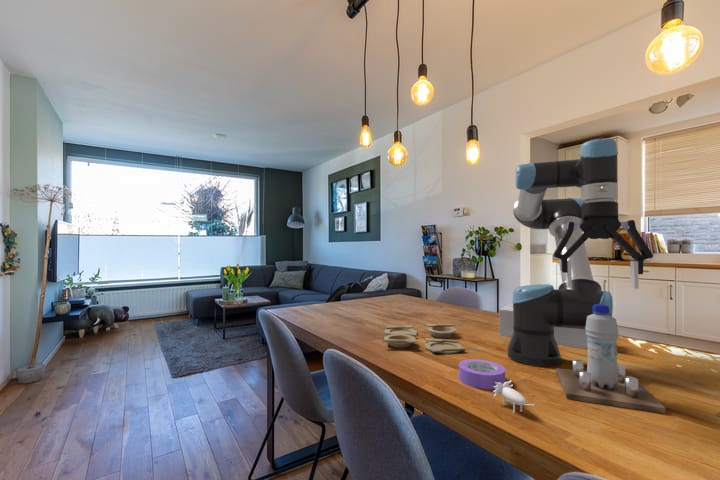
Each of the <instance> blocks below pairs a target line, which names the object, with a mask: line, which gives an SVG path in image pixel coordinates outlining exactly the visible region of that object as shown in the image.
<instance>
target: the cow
mask: <svg viewBox="0 0 720 480" xmlns="http://www.w3.org/2000/svg"><path fill="white" fill-rule="evenodd" d="M512 381H513V380H511V379H510V380H509V381H505V383H504V384H502V383H500V382H498V383H496V382H495V383H496V384H497V385H496V386H493V387H494V388H497V389H494V390H493V391H492V392H493V393H494V394H493V397H497V396H498V395H499V394H501V395H502V406H503V407H505V406H506V400H508V401H509V405H510V406H512V407H513V409H512V413H513V414H515V413H516V405H518V406H519V407H520V408H519V412H521V413H522V412H523V406H532V407H536V406H537V405H536V404H535V403H533V404H531V403H529V404H528V403H527V399H526V398H525V396H524V395H522V394H521V393H520V392H519V391H517V390H515V389H513V388H512V387H513V384H512ZM505 399H506V400H505Z"/></svg>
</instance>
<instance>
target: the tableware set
mask: <svg viewBox="0 0 720 480" xmlns="http://www.w3.org/2000/svg"><path fill="white" fill-rule="evenodd" d="M384 327H385V329H384V334H385V336H384V338H383V339H382V342H384V343H388V344H390V346H391V347H393V348H397V349H404V348H409V347H411V344H413V343H417V342H418V340H417V339H416V338H417V336H418V331H417V330H416V329H413V328H414V325H410V324H409V325H403V326H402V325H401V326H396V325H395V326H384ZM426 327H427V331H428V332H430V333H432V335H433V337H436V338H427V337H426V338H425V339H424V340H425V342H426V343H425V344H424V348H425V349H426V350H428V351H430V352H432V353H438V354H455V353H456V354H457V353H460V352H462V351H466V347H465V346H463V345H461V344H460V343H459V340H458V339H449V338H451V337H452V335H453V334H455V333H457V331H458V329H457V328H455V327H456V323H445V324H444V323H441V324H435V323H428V324H426Z"/></svg>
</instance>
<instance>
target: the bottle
mask: <svg viewBox="0 0 720 480" xmlns="http://www.w3.org/2000/svg"><path fill="white" fill-rule="evenodd" d="M593 313H594V314H591V315H589V316H587V321H586V327H585V329H586V335H587V345H588V349H587V365H586V367H587V368H586V371H587V372H590V373H591V384H592V385H594V386H596V384H597V383H598V384H599V387H600V388H603V387H604V385H605V384H607V388H608V389H612V388H615V387H616V386H617V385H618V368H617V364H618V350H617V348H618V347H617V346H618V343H617V340H618V339H619V327H618V322H617V319H616V317H615V318H614V317H613V315H612V316H610V315H608V314H609V307H608V306H606V305H603V304H595V305H594V306H593Z"/></svg>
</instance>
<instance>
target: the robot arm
mask: <svg viewBox="0 0 720 480" xmlns="http://www.w3.org/2000/svg"><path fill="white" fill-rule="evenodd" d="M617 147H618V146H617V141H616V140H615V139H613V138H610V137H609V138H607V137H606V138H604V137H603V138H597V139H596V138H595V139H591V140H589V141H586V142H584V143H582V144H581V146H580V151H579V152H580V153H579V159H577V158H576V159H567V160H566V159H565V160H557V161H556V160H555V161H545V162H544V161H543V162H541V161H540V162H527V163H524V164H523V163H522V164H518V165H517V166H516V168H515V188H516V189H517V190H519V193H518V200H517V201H516V202H515V203H514V206H513V212H512V213H513V215H514V218H515V219H516V220H517V222H518V223H519V224H521V225H523V226H525V227H526V228H530V229H534V230H548V231H549V234H550V235H551V236H553V237H554V241H555V246H556V249H555V250H554V252H553V255H552V256H553V257H554V258H556V259H558V265H559V270H560V276H561V277H560V278H561V282H562V283H561V284H559V286H558V288H557V289H555V287H554V286H553V285H552V284H547V283H546V284H540V283H539V284H529V285H528V284H527V285H522V286H518V287H516V288H514V289H513V292H512V301H511V303H512V306H513V334H512V337H510V340H509V343H508V345H507V346H508V347H507V356H508V358H509V359H511V360H513V361H515V362H518V363H522V364H525V365H530V366H535V367H537V366H538V367H555V366H558V365H560V364H561V363H562V355H561V352H560V349H559V346H558V344H557V343H556V340H555V337H554V327H561V328H574V329H585V327H586V321H587V316H589V315H591V314H594V313H593V306H594V305H595V304H603V305H606V306H608V307H609V314H608V315H610V316H612V317H613V308H614V303H613V301H614V300H613V296H612V293H611V292H610V291H607V290H603V289H602V286H601V284H600V283H599V281H596V280H594V278H593V274H592V269H591V266H590V265H591V264H590V260H589V255H588V252H587V249H586V248H587V247H586V245H585V244H586V243H585V242H586V241H587V240H588V239H591V240H597V239H601V240H609V239H612V241H613V242H615V243H616V244H617V245H618V246H619V247H620V248H622V249H623V250H624V251H625V252H626V253H627V254H628V255H629V256H630V257H631V258H632V259H633V260H630V263H629V265H630V266H629V268H630V288H632V289H633V290H634V289H635V290H636V289H638V290H639V289H640V287H639V275H644V261H645V260H648V259H653V258H654V254H653V253H652V251H651V249H650V248H649V247H648V245H647V244H646V242H645V241H644V239H643V237H642V235H641V234H640V233H639V231H638V229H637V225H636V222H635V220H634V219H629V220H627V221H620V219H619V203H618V202H617V200H618V199H619V193H618V191H619V190H618V154H619V152H618V148H617ZM569 187H570V188H571V187H575V188H580V195H581V196H580V198H578V197H577V198H576V197H575V198H573V197H566V198H554V199H553V198H551V199H544V197H545V195H546V192H547V189H552V188H553V189H554V188H569ZM620 228H623V230H626V232H627V234H628V235H629V236H630V238H631V240H632V241H633V243H634V245H635V246H636V247H637V249H638V250H636V249H635V248H634V247H633V246H632V245H631V244H630V243H629V242H628V241H626V239H624V237H623V236H622V235H621V234H620V233H618V230H619V229H620Z"/></svg>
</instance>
